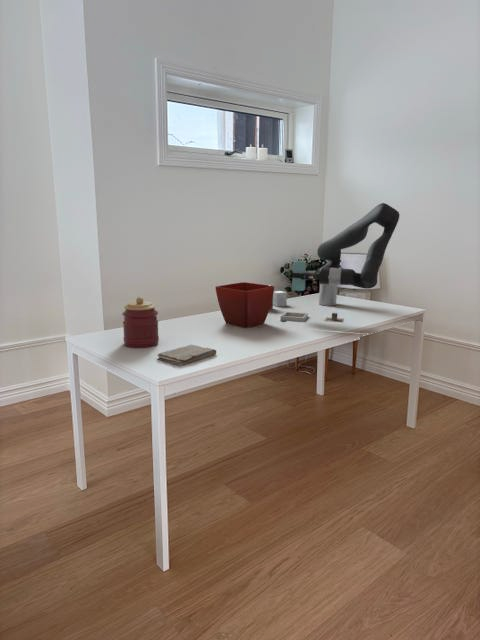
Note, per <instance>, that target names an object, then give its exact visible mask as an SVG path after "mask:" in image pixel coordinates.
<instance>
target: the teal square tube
mask: <svg viewBox="0 0 480 640" xmlns="http://www.w3.org/2000/svg"><path fill="white" fill-rule="evenodd" d="M306 269H307V261H306V260H293V261H292V273H305V272H306V271H307V270H306ZM303 277H305V275H304V276H303ZM291 278H292V277H291ZM291 282H292V284H291V291H299V292H303V291H305V290H306V280H305V279H300V278H292V281H291Z"/></svg>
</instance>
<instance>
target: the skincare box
mask: <svg viewBox="0 0 480 640" xmlns="http://www.w3.org/2000/svg"><path fill="white" fill-rule="evenodd" d="M287 297H288V292H286V291H282V290H276V291H275V290H274V293H273V307H279V308H280V307H287V306H288V304H287V301H288V298H287Z"/></svg>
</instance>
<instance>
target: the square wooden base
mask: <svg viewBox="0 0 480 640" xmlns="http://www.w3.org/2000/svg"><path fill="white" fill-rule="evenodd" d="M344 320H345V318H340V317H339V318H338V312H332V313H331V317H326V318H325V319H324V322H330V323H331V322H332V323H343V322H344Z"/></svg>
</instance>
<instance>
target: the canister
mask: <svg viewBox="0 0 480 640" xmlns="http://www.w3.org/2000/svg"><path fill="white" fill-rule="evenodd" d="M156 307H157V305H156V304H153V303H152V302H150V301H144V298H143V297H141V296H139V297H138V296H137V298H136V300H135V301H130V302H128V303H127V304H126V305H125V306H124V307H123V308H124V309H125V310H124V311H123V312H122V313H121V315H122V316H123V321H122V326H123V343H124V346H126V347H127V348H128V347H129V348H133V349H135V348H136V349H139V348H140V349H142V348H151V347H155V346H156V345H158V344H159V341H160V339H159V338H160V336H159V320H158V317H157V316H158V314H159V311H158V310H156Z"/></svg>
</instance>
